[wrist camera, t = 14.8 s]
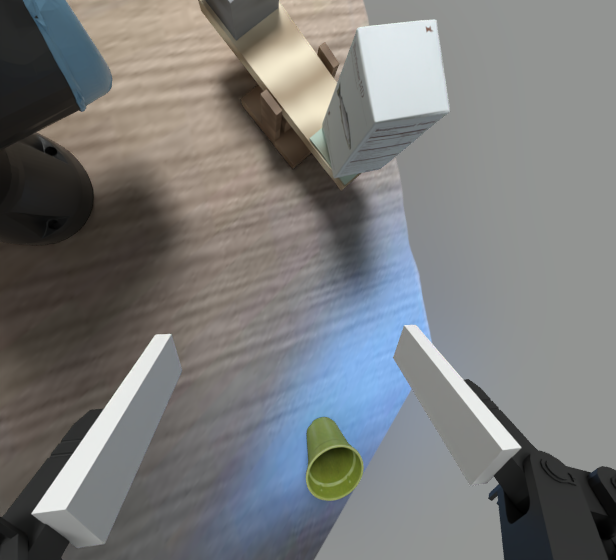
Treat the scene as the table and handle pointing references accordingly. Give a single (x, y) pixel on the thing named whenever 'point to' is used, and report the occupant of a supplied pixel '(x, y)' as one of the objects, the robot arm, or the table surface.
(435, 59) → the supplement box
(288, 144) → the fulcrum stand
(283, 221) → the table surface
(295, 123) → the seesaw beam
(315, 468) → the plant pot
